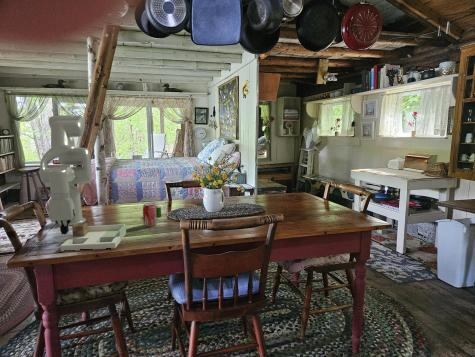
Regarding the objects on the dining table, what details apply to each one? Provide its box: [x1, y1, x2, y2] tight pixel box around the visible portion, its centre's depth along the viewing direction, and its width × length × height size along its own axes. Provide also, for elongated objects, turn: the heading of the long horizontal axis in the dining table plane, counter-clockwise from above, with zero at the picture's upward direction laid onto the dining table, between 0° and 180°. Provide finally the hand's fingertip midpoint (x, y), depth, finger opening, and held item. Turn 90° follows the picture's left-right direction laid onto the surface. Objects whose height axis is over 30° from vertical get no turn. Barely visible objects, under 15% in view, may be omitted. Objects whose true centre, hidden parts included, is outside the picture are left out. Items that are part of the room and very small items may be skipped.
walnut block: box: [71, 222, 89, 237], centre depth 145 cm, size 5×5×5 cm
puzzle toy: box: [155, 204, 162, 218], centre depth 183 cm, size 6×6×6 cm
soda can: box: [142, 202, 158, 227], centre depth 166 cm, size 7×7×12 cm
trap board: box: [60, 223, 127, 252], centre depth 143 cm, size 23×19×5 cm
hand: (64, 233), depth 145 cm, fingers closed
